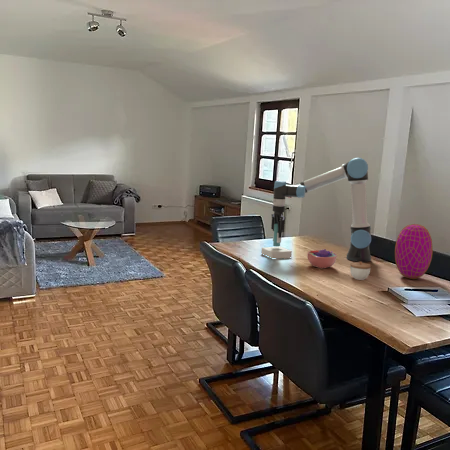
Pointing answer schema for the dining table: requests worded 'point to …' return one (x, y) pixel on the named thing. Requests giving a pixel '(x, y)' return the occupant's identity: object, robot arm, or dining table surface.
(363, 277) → the lidded jar
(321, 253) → the cell model
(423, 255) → the decorative egg
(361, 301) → the dining table surface
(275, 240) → the peg
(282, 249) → the socket block
